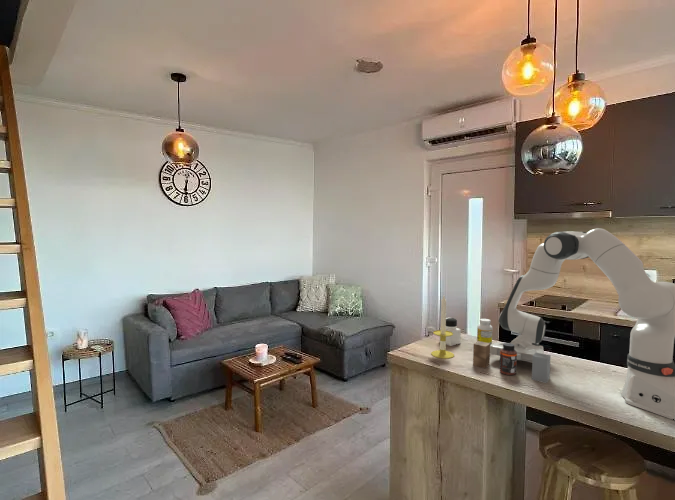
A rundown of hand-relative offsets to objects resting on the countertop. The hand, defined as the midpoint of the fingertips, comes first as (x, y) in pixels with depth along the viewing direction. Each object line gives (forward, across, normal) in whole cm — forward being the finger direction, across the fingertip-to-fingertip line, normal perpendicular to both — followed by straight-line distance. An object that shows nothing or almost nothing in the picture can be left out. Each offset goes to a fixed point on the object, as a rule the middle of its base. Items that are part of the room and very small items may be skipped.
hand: (510, 358), depth 152 cm
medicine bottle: (-18, -33, +5) cm, 38 cm away
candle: (0, -28, +5) cm, 29 cm away
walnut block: (+1, -11, +5) cm, 12 cm away
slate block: (+1, +11, +5) cm, 12 cm away
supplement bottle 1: (-23, -18, +5) cm, 30 cm away
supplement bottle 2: (+3, 0, +5) cm, 6 cm away
